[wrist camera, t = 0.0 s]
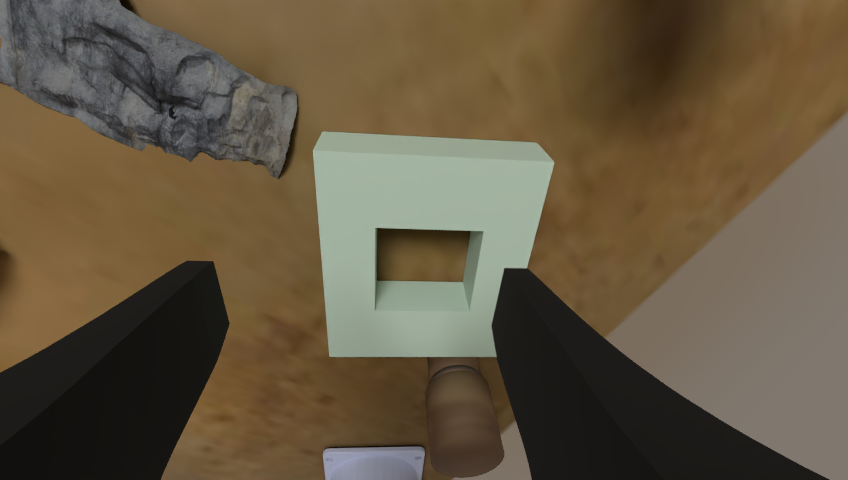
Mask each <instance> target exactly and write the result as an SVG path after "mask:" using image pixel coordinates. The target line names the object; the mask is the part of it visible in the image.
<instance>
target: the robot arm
mask: <svg viewBox="0 0 848 480" xmlns="http://www.w3.org/2000/svg"><path fill="white" fill-rule="evenodd" d="M228 327H229V320H228V316H227V312H226V308H225V304H224V301H223V297H222V293H221V289H220V285H219V281H218V277H217V274H216V270H215V266H214V262H213V261H186V262H184V263H182V264H181V265H179V266H177V267H175V268H174V269H172V270H171V271H169V272H167V273H166V274H164V275H163V276H161V277H159V278H158V279H156V280H155V281H153V282H152V283H150V284H149V285H147V286H146V287H144V288H143V289H141V290H139V291H138V292H136V293H135V294H133V295H132V296H130V297H129V298H127V299H125V300H124V301H122V302H121V303H119V304H118V305H116V306H115V307H113V308H111V309H110V310H108V311H107V312H105V313H104V314H102V315H100V316H99V317H97V318H96V319H94V320H92V321H90V322H89V323H87V324H85V325H84V326H82V327H80V328H79V329H77V330H75V331H74V332H72V333H70V334H69V335H67V336H65V337H64V338H62V339H60V340H59V341H57V342H55V343H54V344H52V345H50V346H49V347H47V348H45V349H43V350H42V351H40V352H38V353H36V354H34V355H33V356H31V357H29V358H27V359H25V360H23V361H22V362H20V363H18V364H16V365H14V366H12V367H10V368H8V369H6V370H5V371H3V372H1V373H0V480H161V477H162V475H163V472H164V470H165V468H166V466H167V463H168V461H169V459H170V457H171V454H172V452H173V450H174V448H175V446H176V444H177V442H178V440H179V438H180V436H181V434H182V432H183V430H184V428H185V426H186V424H187V422H188V420H189V418H190V416H191V414H192V412H193V410H194V408H195V406H196V404H197V402H198V400H199V397H200V395H201V393H202V391H203V389H204V387H205V385H206V383H207V381H208V379H209V377H210V375H211V373H212V371H213V369H214V367H215V364H216V362H217V360H218V357H219V354H220V351H221V348H222V346H223V343H224V339H225V336H226V333H227V330H228ZM491 327H492V333H493V339H494V345H495V350H496V356H497V361H498V364H499V368H500V371H501V374H502V378H503V381H504V384H505V387H506V391H507V394H508V397H509V400H510V403H511V406H512V410H513V413H514V416H515V419H516V422H517V425H518V428H519V432H520V435H521V438H522V441H523V445H524V448H525V452H526V455H527V459H528V463H529V467H530V472H531V477H532V480H829V479H827V478H825V477H823V476H821V475H819V474H817V473H815V472H813V471H811V470H809V469H807V468H805V467H803V466H801V465H799V464H797V463H796V462H794V461H792V460H790V459H788V458H786V457H784V456H783V455H781V454H779V453H777V452H775V451H774V450H772V449H770V448H768V447H766V446H764V445H763V444H761V443H759V442H757V441H755V440H753V439H752V438H750V437H748V436H747V435H745V434H743V433H741V432H740V431H738V430H736V429H734V428H733V427H731V426H729V425H728V424H726V423H724V422H723V421H721V420H719V419H718V418H716V417H715V416H713V415H711V414H710V413H708V412H707V411H705V410H703V409H702V408H700V407H699V406H697V405H695V404H694V403H692V402H691V401H689V400H687V399H686V398H684V397H683V396H681V395H680V394H678V393H677V392H675V391H674V390H672V389H671V388H669V387H668V386H666V385H665V384H664V383H662V382H661V381H659V380H658V379H657V378H655V377H654V376H653V375H651V374H650V373H648V372H647V371H646V370H644V369H643V368H641V367H640V366H639V365H637V364H636V363H635V362H633V361H632V360H631V359H629V358H628V357H627V356H625V355H624V354H623V353H622V352H620V351H619V350H618V349H617V348H615V347H614V346H613V345H612V344H610V343H609V342H608V341H607V340H606V339H604V338H603V337H602V336H601V335H600V334H598V333H597V332H596V331H595V330H594V329H593V328H592V327H590V326H589V325H588V324H587V323H586V322H585V321H584V320H582V319H581V318H580V317H579V316H578V315H577V314H576V313H575V312H574V311H572V310H571V309H570V308H569V307H568V306H567V305H566V304H565V303H564V302H563V301H562V300H561V299H560V298H559V297H558V296H556V295H555V294H554V293H553V292H552V291H551V290H550V289H549V288H548V287H547V286H546V285H545V284H544V283H543V282H542V281H541V280H540V279H539V278H537V277H536V276H535V275H534V274H533V273H532V272H531V271H530V270H529V269H527V268H504V271H503V276H502V280H501V285H500V289H499V294H498V298H497V303H496V307H495V312H494V316H493V321H492V325H491ZM424 456H425V450H424V448H423V447H419V446H416V447H365V448H327V449H325V450H324V452H323V461H324V470H325V479H326V480H421V479H422V472H423V464H424Z"/></svg>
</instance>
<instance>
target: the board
mask: <svg viewBox="0 0 848 480" xmlns="http://www.w3.org/2000/svg"><path fill="white" fill-rule="evenodd" d="M313 157H314V170H315V182H316V195H317V207H318V220H319V232H320V245H321V257H322V270H323V282H324V295H325V307H326V320H327V332H328V345H329V357H497V356H496V350H495V345H494V339H493V333H492V327H491V325H492V321H493V316H494V312H495V307H496V303H497V298H498V294H499V289H500V285H501V280H502V276H503V271H504V268H527V266H528V262H529V258H530V254H531V250H532V247H533V243H534V239H535V235H536V231H537V227H538V224H539V220H540V216H541V212H542V208H543V204H544V201H545V197H546V193H547V189H548V185H549V182H550V178H551V174H552V170H553V166H554V161H553V160H552V159H551V158H550V157H549V155H548V154H547V153H546V152H545V151H544V150H543V149H542V148H541V147H540V146H539V145H538V144H537V143H533V142H514V141H494V140H475V139H456V138H437V137H418V136H398V135H379V134H360V133H341V132H322V134H321V136H320V138H319V140H318V142H317V144H316V146H315V148H314V150H313ZM377 228H396V229H428V230H461V231H471V233H470V239H469V245H468V252H467V258H466V264H465V271H464V277H463V282H419V281H377Z"/></svg>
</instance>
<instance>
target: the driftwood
mask: <svg viewBox="0 0 848 480" xmlns="http://www.w3.org/2000/svg"><path fill="white" fill-rule="evenodd" d="M0 37H1V41H2V46H1V49H0V82H2V83H4V84H7V85H9V86H11V87H12V88H14V89H15V90H17V91H19V92H22V93H23V94H25V95H26V96H28V97H29V98H30V99H32V100H34V101H35V102H37V103H39V104H41V105H43V106H45V107H49V108H52V109H53V110H56V111H59V112H61V113H63V114H66V115H69V116H72V117H77V118H78V119H80V120H81V121H82V122H84V123H86V125H87V126H89V127H90V128H91V129H93V130H96V131H97V132H98V133H100V134H102V135H104V136H107V137H109V138H112V139H114V140H116V141H118V142H120V143H123V144H125V145H128V146H130V147H133V148H136V149H139V150H140V151H142V150H143V149H144V148H145V147H146V146H147V144H151V145H153V146H155V147H158V146H159V147H161V148H162V149H163V151H164V152H165V153H167V152H168V153H171V154H174V155H178V156H181V157H184V158H186V159H187V160H189V161H190V162H191V161H192V160H193V159H194V158H195V157H196V156H197V155H198V153H199V152H204V153H206V154H208V155H209V156H211V157H212V158H214V159H215V160H217V159H218V160H222V159H231V160H232V161H233V162H234V161H236V160H237V161H245V160H248V161H251V162H252V163H253V164H262V165H264V166H266V168H267V170H268V171H269V173H270V174H271V176H273V177H275V178H277V179H279V178H278V176H279V175H280V174H281V173H280V172H281V170H282V169H283V168H282V167H283V165H284V161H285V160H286V157H285V156H286V152H287V150H288V149H287V148H288V147H289V142H290V134H291V131H292V129H293V126H294V125H293V124H294V119H295V117H296V112H297V106H298V105H297V95H296V92H295V91H294V90H293V89H292V88H289V87H285V86H283V87H282V86H279V85H278V86H276V85H273V84H268V83H264V82H262V81H260V80H258V79H257V78H256V77H254V76H252V75H250V74H248V73H247V72H245V71H242V70H240V69H239V68H235V67H234V66H233V65H232V64H231V63H229V62H227V61H226V60H225V59H224V58H222V56H221V55H219V54H217V53H214V52H213V51H212V50H211V49H208V48H205V47H203V46H202V45H200V44H198V43H195V42H192V41H190V40H188V39H186V38H184V37H182V36H181V35H179V34H177V33H174V32H172V31H168V30H165V29H163V28H161V27H158V26H154V25H152V24H150V23H148V22H146V21H144V20H143V19H141V18H139V17H138V16H137V15H136V14H134V13H133V12H131V11H129V10H127V9H126V8H124V7H123V6H121V4H120V1H119V0H0Z"/></svg>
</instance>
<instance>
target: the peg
mask: <svg viewBox="0 0 848 480" xmlns="http://www.w3.org/2000/svg"><path fill="white" fill-rule="evenodd" d="M428 367H429V378H430V383H429V385H428V387H427V390H426V402H427V415H428V428H429V441H430V455H431V464H432V466H433V468H434V469H435V470H436V471H438V472H439V473H441V474H443V475H446V476H450V477H458V478H459V477H460V478H461V477H462V478H463V477H473V476H478V475H481V474H484V473H487V472H489V471H491V470H493V469H494V468H496V467H497V466H498V465H499V464H500V463H501V462H502V460H503V458H504V450H503V445H502V441H501V437H500V433H499V428H498V424H497V420H496V416H495V411H494V407H493V403H492V399H491V394H490V390H489V386H488V383H487V381H486V380H485V379H484V378H483V377H482V375H481V373H480V369H479V364H478V360H477V357H428Z"/></svg>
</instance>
